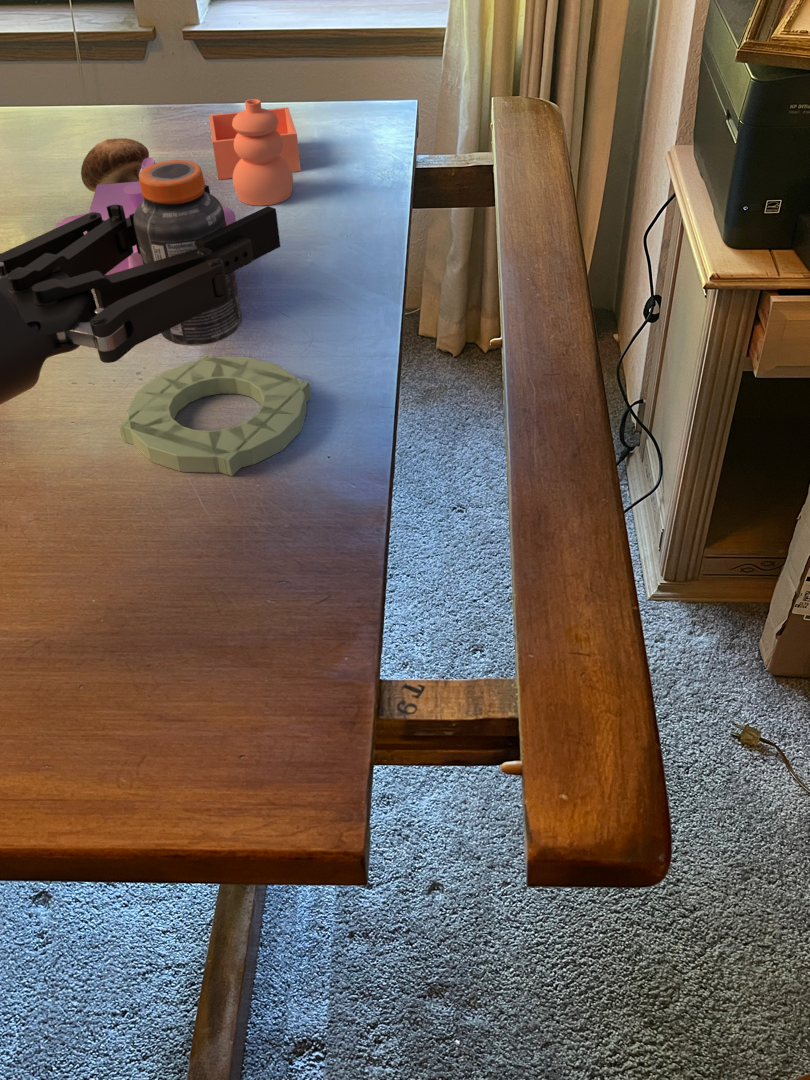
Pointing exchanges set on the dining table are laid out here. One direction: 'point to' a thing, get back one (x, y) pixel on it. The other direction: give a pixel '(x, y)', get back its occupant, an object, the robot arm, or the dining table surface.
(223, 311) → the pill bottle
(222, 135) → the pottery
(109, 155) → the mushroom
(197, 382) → the hole board
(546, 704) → the dining table surface
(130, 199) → the teapot
